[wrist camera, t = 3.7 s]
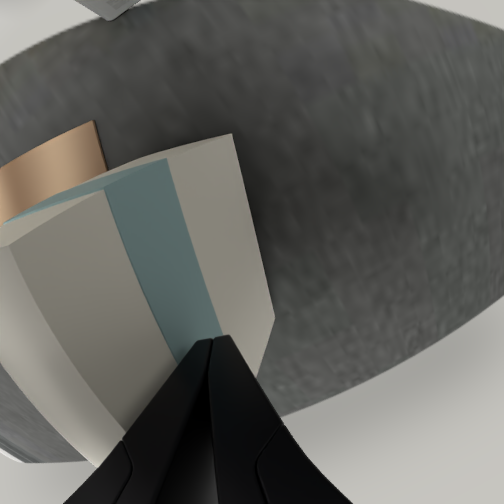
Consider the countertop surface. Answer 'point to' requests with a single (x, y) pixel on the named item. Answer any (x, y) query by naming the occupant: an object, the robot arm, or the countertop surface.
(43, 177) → the board
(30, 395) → the carton
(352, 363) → the countertop surface
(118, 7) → the ink box
